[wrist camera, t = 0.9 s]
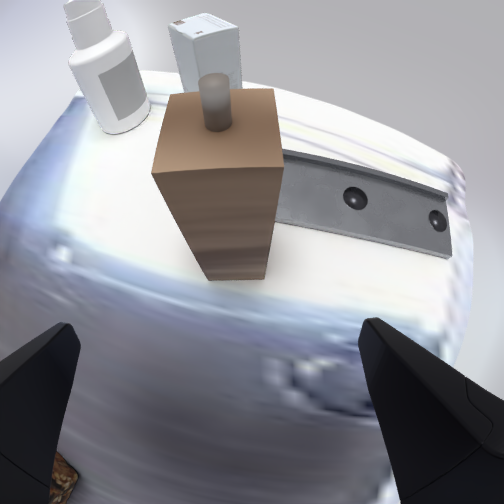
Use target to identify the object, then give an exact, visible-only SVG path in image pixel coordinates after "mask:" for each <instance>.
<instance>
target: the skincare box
mask: <svg viewBox="0 0 504 504" xmlns="http://www.w3.org/2000/svg"><path fill="white" fill-rule="evenodd" d="M168 28H169V33H170V37H171V41H172V45H173V50H174V53H175V57H176V61H177V66H178V69H179V74H180V77H181V81H182V85H183V89H184V93H187V92H197V91H199V86H198V81H199V79H200V78H201V77H203V76H204V75H207V74H210V73H222V74H225V75H227V76H228V77H229V83H230V89H242V75H241V59H240V46H239V28H238V27H237V26H235V25H233V24H231V23H229V22H226V21H224V20H222V19H220V18H217V17H215V16H213V15H210V14H208V13H204V14H199V15H196V16H193V17H189V18H186V19H183V20H180V21H177V22H174V23H171V24H169V25H168Z"/></svg>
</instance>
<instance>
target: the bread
mask: <svg viewBox="0 0 504 504" xmlns="http://www.w3.org/2000/svg"><path fill="white" fill-rule="evenodd" d="M77 478H78V477H77V473H76V472H75V470H74V469H73V468H72V467H71V466H69V465H67V463H66V462H65V460H64V459H63V457H62V456H61V455H60V454H59V453H58V452H57V451H56V455H55V460H54V466H53V472H52V479H51V487H50V497H49V504H66V502H67V499H68V498H69V495H70V494H71V492H72V489H73V487H74V484H75V483H76V481H77Z"/></svg>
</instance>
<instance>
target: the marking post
mask: <svg viewBox="0 0 504 504" xmlns="http://www.w3.org/2000/svg"><path fill="white" fill-rule="evenodd" d="M198 86H199V91H197V92H187V93H179V94H171V95H170V97H169V101H168V105H167V108H166V112H165V115H164V119H163V123H162V127H161V131H160V135H159V139H158V144H157V148H156V153H155V157H154V162H153V167H152V172H151V174H152V176H153V178H154V180H155V182H156V184H157V186H158V188H159V190H160V192H161V194H162V196H163V198H164V200H165V202H166V204H167V206H168V208H169V210H170V212H171V214H172V215H173V217H174V219H175V221H176V223H177V225H178V227H179V229H180V231H181V232H182V234H183V236H184V238H185V240H186V242H187V244H188V245H189V247H190V249H191V251H192V253H193V254H194V256H195V258H196V260H197V262H198V263H199V265H200V267H201V269H202V271H203V272H204V274H205V276H206V278H207V279H208V281H211V280H254V279H264V278H265V272H266V267H267V261H268V256H269V251H270V245H271V240H272V234H273V228H274V223H275V217H276V212H277V206H278V200H279V194H280V189H281V183H282V177H283V171H284V161H283V153H282V145H281V138H280V130H279V123H278V116H277V109H276V102H275V96H274V89H230V83H229V77H228V76H227V75H225V74H222V73H210V74H207V75H204V76H203V77H201V78H200V79H199V81H198Z"/></svg>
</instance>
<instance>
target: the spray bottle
mask: <svg viewBox="0 0 504 504" xmlns="http://www.w3.org/2000/svg"><path fill="white" fill-rule="evenodd" d="M64 10H65V12H66V15H67V25H68V27H69V30H70V32H71V35H72V39H73V42H74V44H75V47H76V50H75V51H74V52H73V54H72V55H71V57H70V59H69V62H68V63H69V66H70V69H71V71H72V72H73V75H74V77H75V79H76V81H77V83H78V85H79V87H80V89H81V91H82V93H83V95H84V97H85V99H86V101H87V103H88V104H89V106H90V108H91V110H92V112H93V114H94V116H95V118H96V119H97V121H98V123H99V125H100V127H101V128H102V130H103V131H104V132H107V133H109V134H118V133H122V132H126V131H128V130H130V129H132V128H134V127H135V126H137V125H138V124H140V123H141V122H142V121H143V120H144V119H145V118H146V116H147V115H148V113H149V110H150V103H149V100H148V97H147V94H146V91H145V88H144V85H143V82H142V79H141V76H140V72H139V69H138V66H137V63H136V60H135V57H134V54H133V50H132V47H131V44H130V41H129V37H128V34H127V33H126V32H123V31H115V30H112V28H111V24H110V21H109V19H108V18H107V14H106V11H105V8H104V4H103V3H101V0H69V2H68V3H66V4H64Z"/></svg>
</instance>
